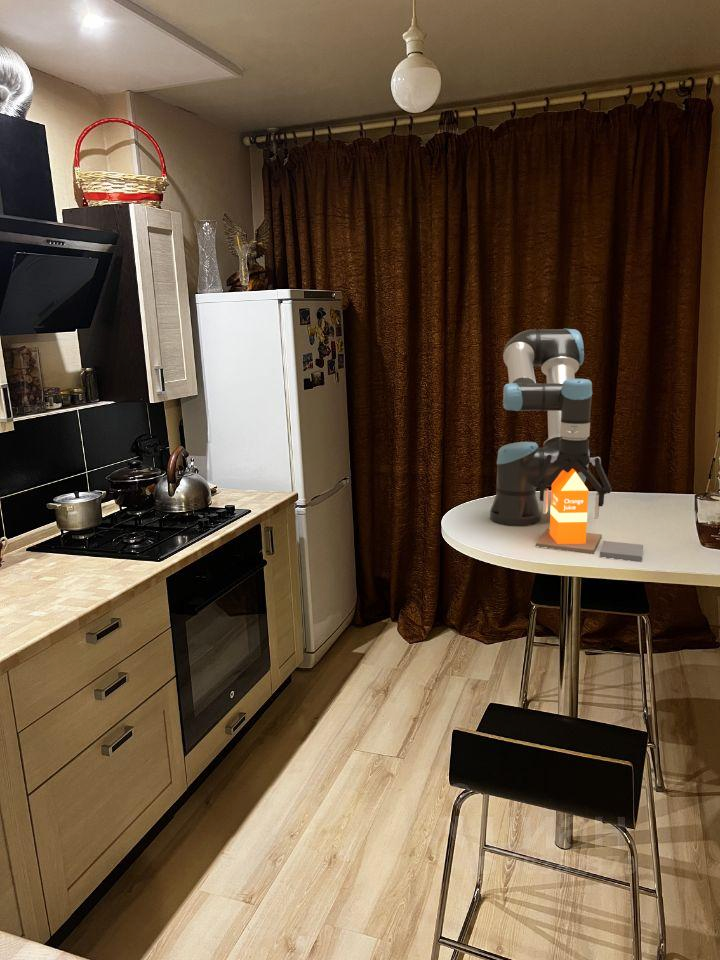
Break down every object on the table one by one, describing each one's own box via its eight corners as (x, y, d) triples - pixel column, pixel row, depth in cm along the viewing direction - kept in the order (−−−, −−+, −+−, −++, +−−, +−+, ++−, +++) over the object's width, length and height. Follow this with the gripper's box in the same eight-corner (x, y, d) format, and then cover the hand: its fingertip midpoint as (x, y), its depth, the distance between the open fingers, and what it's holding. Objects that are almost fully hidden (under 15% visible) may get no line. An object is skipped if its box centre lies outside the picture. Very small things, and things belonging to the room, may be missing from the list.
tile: (603, 547, 196) (599, 559, 187) (603, 540, 196) (600, 551, 187) (642, 552, 192) (641, 563, 184) (643, 544, 192) (641, 556, 183)
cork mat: (535, 546, 196) (535, 543, 196) (546, 531, 209) (547, 528, 209) (593, 553, 190) (593, 550, 190) (601, 537, 203) (601, 534, 203)
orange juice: (557, 543, 195) (560, 470, 191) (548, 534, 204) (552, 464, 199) (586, 543, 195) (590, 470, 191) (576, 533, 204) (580, 463, 199)
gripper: (524, 437, 195) (521, 513, 200) (622, 443, 185) (617, 523, 189) (530, 433, 202) (527, 507, 206) (625, 438, 191) (620, 516, 196)
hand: (570, 515), depth 198 cm, fingers open, 13 cm apart
